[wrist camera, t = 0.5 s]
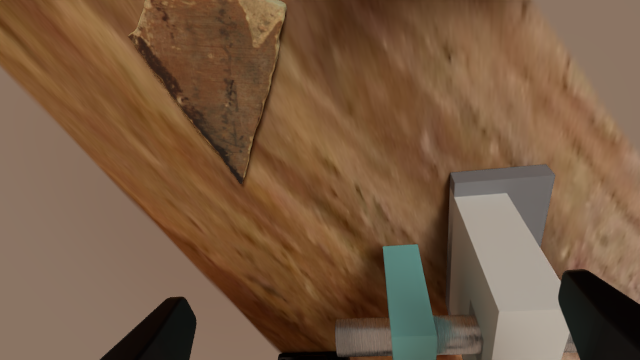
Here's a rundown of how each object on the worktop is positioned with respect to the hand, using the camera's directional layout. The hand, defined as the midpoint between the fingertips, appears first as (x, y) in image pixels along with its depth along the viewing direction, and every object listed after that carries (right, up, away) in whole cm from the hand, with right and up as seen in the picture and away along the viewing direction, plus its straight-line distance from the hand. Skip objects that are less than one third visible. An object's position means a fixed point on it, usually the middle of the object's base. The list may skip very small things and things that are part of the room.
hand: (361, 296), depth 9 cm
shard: (-5, +9, +12) cm, 16 cm away
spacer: (+4, -4, +15) cm, 16 cm away
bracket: (+11, -2, +17) cm, 20 cm away
